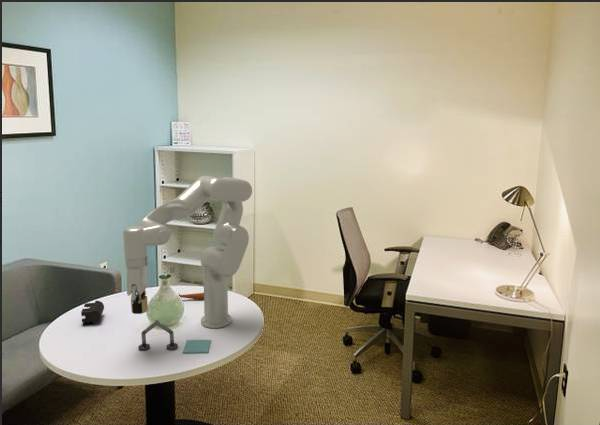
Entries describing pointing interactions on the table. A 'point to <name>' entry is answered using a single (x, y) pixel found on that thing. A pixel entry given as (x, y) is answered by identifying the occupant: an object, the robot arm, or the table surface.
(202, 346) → the mat
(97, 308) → the dark brown lumpy block
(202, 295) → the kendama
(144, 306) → the bronze ring
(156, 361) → the table surface
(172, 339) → the pipe arch
